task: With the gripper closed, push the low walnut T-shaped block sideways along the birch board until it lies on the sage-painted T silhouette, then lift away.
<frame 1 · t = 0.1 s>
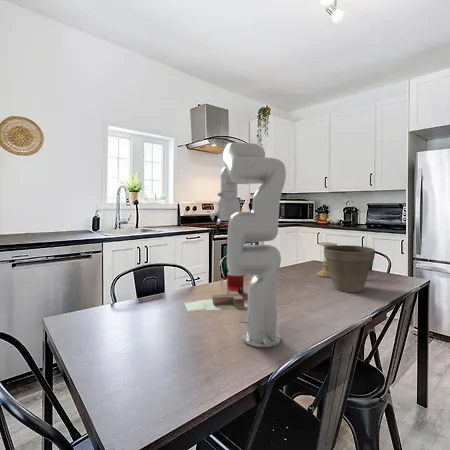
hand: (228, 232, 147), 31 cm above the table, fingers open, 9 cm apart
canned food: (235, 295, 155), on the table
t block: (235, 302, 140), point 1 cm above the table, touching board, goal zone
candle holder: (327, 275, 197), on the table
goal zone: (211, 307, 137), resting on board
plant pot: (347, 289, 168), on the table
board: (215, 306, 137), on the table
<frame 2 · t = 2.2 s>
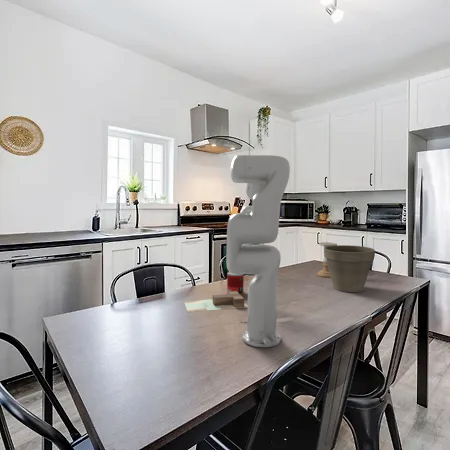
hand: (251, 274, 141), 13 cm above the table, fingers closed
nothing on the table moved.
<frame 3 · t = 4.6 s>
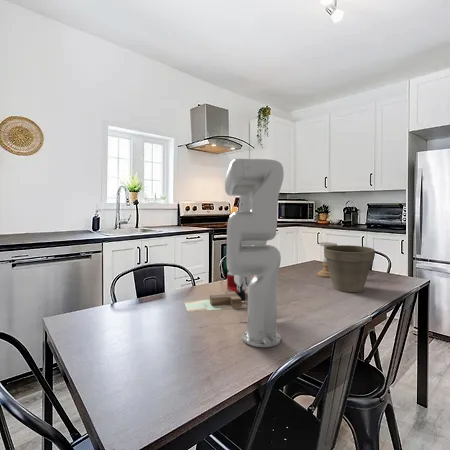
hand: (240, 300, 140), 2 cm above the table, fingers closed
t block: (233, 302, 139), point 1 cm above the table, touching board, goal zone, gripper
everything else where it was.
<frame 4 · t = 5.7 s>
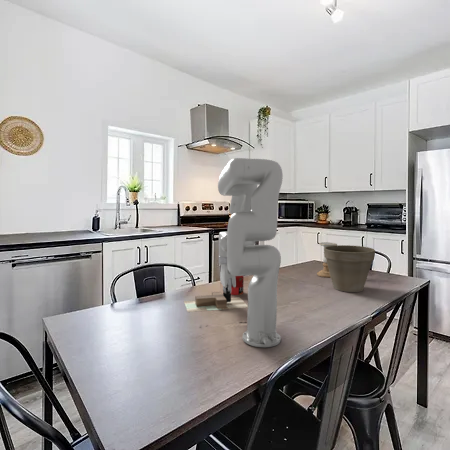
hand: (226, 301, 139), 2 cm above the table, fingers closed
t block: (218, 303, 138), point 1 cm above the table, touching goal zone, gripper
everything else where it was.
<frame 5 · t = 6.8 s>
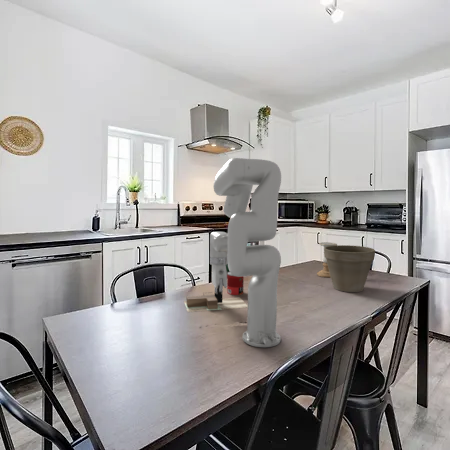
hand: (218, 302, 138), 2 cm above the table, fingers closed
t block: (210, 304, 137), point 1 cm above the table, touching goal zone, gripper
everything else where it was.
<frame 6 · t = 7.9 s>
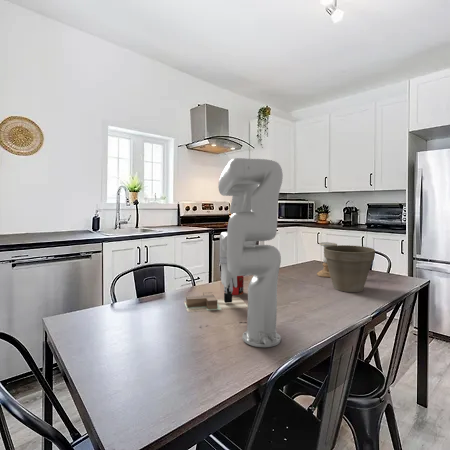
hand: (228, 301, 139), 2 cm above the table, fingers closed
t block: (209, 304, 137), point 1 cm above the table, touching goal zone
everything else where it was.
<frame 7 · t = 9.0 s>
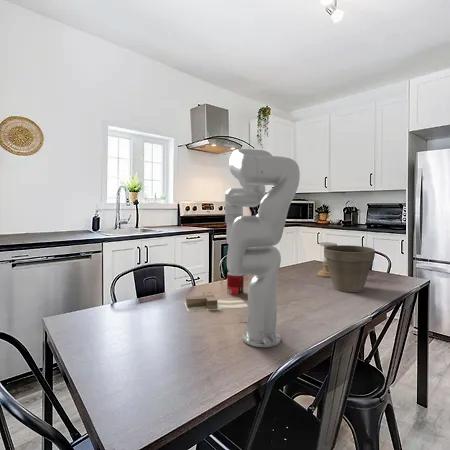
hand: (233, 261, 137), 20 cm above the table, fingers closed
nothing on the table moved.
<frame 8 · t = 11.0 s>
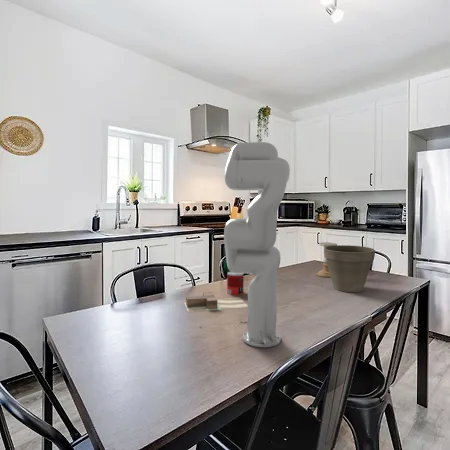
hand: (266, 241, 133), 29 cm above the table, fingers closed
nothing on the table moved.
at the end: t block inside the target area on the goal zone (0.6 cm from its centre), point 1.2 cm above the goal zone's base; t block tilted 0°; the gripper is holding nothing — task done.
